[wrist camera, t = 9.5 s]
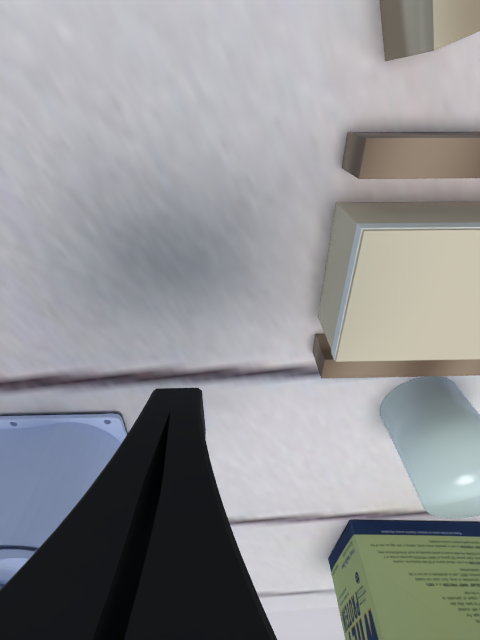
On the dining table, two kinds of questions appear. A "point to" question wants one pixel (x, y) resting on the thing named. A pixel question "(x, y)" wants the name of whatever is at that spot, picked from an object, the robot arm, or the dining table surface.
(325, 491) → the dining table surface
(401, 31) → the beech block
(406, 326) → the beige rectangular block
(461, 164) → the brown square frame
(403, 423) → the dome-topped pale cylinder
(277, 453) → the dining table surface
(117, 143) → the dining table surface
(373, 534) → the protein box
